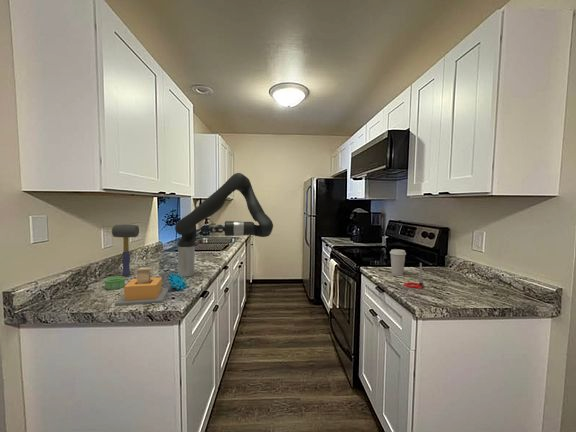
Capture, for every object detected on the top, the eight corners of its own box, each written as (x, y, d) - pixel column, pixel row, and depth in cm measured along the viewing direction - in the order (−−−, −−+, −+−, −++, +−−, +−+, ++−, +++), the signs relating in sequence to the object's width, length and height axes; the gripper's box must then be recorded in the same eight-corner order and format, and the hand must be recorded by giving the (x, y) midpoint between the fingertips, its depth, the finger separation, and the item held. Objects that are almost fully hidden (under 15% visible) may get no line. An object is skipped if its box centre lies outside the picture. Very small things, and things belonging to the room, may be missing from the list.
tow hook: (402, 287, 147) (421, 289, 142) (401, 263, 147) (420, 264, 142) (406, 283, 154) (424, 286, 149) (405, 260, 154) (424, 262, 148)
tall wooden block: (140, 293, 126) (139, 267, 126) (150, 293, 128) (150, 267, 127) (137, 297, 122) (137, 270, 122) (148, 296, 123) (148, 269, 123)
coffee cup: (386, 274, 172) (387, 250, 172) (392, 271, 180) (393, 248, 179) (402, 277, 166) (403, 252, 165) (407, 274, 173) (408, 250, 173)
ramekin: (116, 290, 134) (115, 281, 134) (99, 289, 135) (99, 280, 135) (129, 285, 143) (129, 276, 143) (114, 284, 144) (114, 275, 144)
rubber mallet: (111, 278, 155) (110, 224, 153) (117, 274, 162) (117, 223, 161) (135, 277, 156) (134, 225, 155) (140, 274, 164) (139, 224, 162)
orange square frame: (128, 292, 132) (128, 277, 131) (169, 289, 136) (169, 275, 136) (114, 305, 114) (114, 289, 114) (161, 302, 119) (161, 286, 118)
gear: (176, 289, 131) (166, 273, 134) (168, 297, 132) (158, 280, 136) (192, 286, 141) (182, 271, 145) (184, 293, 143) (175, 278, 146)
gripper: (233, 220, 149) (202, 220, 145) (235, 222, 135) (200, 222, 131) (233, 234, 149) (202, 234, 145) (234, 237, 136) (200, 238, 132)
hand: (201, 228), depth 138 cm, fingers open, 8 cm apart
